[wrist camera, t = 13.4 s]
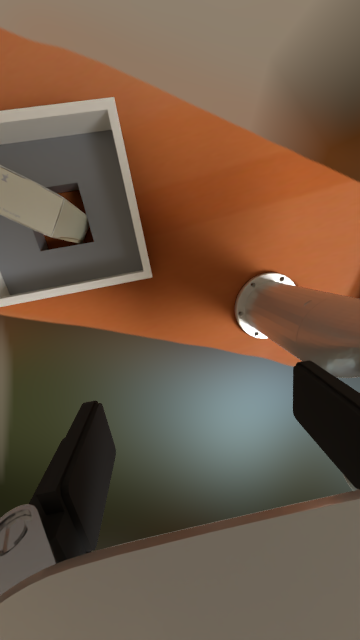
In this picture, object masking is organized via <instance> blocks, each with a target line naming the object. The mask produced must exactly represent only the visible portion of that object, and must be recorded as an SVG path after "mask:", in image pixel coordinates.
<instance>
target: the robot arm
mask: <svg viewBox="0 0 360 640" xmlns="http://www.w3.org/2000/svg"><path fill="white" fill-rule="evenodd" d="M251 284H252V285H251ZM239 312H240V313H239ZM235 316H236V320H237V322H238V324H239V326H240V327H241V328H242V330H243V331H245V332H246V333H247V334H249V335H250V336H253V337H255V338H261V339H264V338H269V339H271V340H272V341H274V342H275V343H276V344H278V345H279V346H281V347H282V348H284V349H285V350H287V351H288V352H290V353H291V354H293V355H294V356H296V357H297V358H298V359H300V360H301V361H303V362H298V363H297V364H296V366H294V369H293V413H294V416H295V418H296V419H297V421H298V422H299V423H300V424H301V425H302V427H303V428H304V429H305V430H306V431H307V432H308V433H309V435H310V436H311V437H312V438H313V439H314V441H315V442H316V443H317V444H318V445H319V446H320V447H321V449H322V450H323V451H324V452H325V453H326V454H327V456H328V457H329V458H330V459H331V460H332V462H334V464H335V465H336V466H337V467H338V468H339V469H340V471H341V472H342V473H343V475H344V477H345V479H346V481H347V483H348V484H349V486H350V487H351V489H352V490H353V491H351V492H346V493H342V494H337V495H333V496H328V497H324V498H319V499H315V500H310V501H306V502H301V503H296V504H292V505H288V506H283V507H279V508H274V509H270V510H266V511H261V512H257V513H252V514H248V515H244V516H239V517H235V518H230V519H226V520H222V521H217V522H213V523H209V524H205V525H200V526H196V527H192V528H187V529H183V530H179V531H175V532H170V533H166V534H162V535H158V536H153V537H149V538H145V539H141V540H136V541H132V542H129V543H125V544H121V545H117V546H113V547H109V548H105V549H101V550H97V551H94V552H91V551H92V550H95V548H96V545H97V542H98V537H99V532H100V527H101V522H102V517H103V513H104V508H105V504H106V498H107V493H108V489H109V484H110V480H111V475H112V470H113V465H114V461H115V455H116V450H115V445H114V442H113V438H112V435H111V432H110V429H109V426H108V422H107V419H106V416H105V412H104V409H103V406H102V404H101V403H98V402H97V401H91V402H86V403H83V404H82V406H81V408H80V410H79V412H78V414H77V415H76V417H75V419H74V421H73V423H72V425H71V428H70V429H69V431H68V433H67V435H66V437H65V438H64V439H63V440H62V441H61V443H60V445H59V447H58V449H57V451H56V453H55V455H54V457H53V459H52V460H51V462H50V464H49V466H48V468H47V470H46V472H45V474H44V476H43V478H42V480H41V482H40V484H39V486H38V487H37V489H36V491H35V493H34V495H33V497H32V499H31V501H30V503H29V504H27V505H21V506H19V507H16V508H14V509H12V510H11V511H9V512H8V513H6V514H5V515H4V516H2V517H1V518H0V640H360V393H358V392H357V391H355V390H354V389H352V388H351V387H350V386H348V385H347V384H345V383H344V382H342V381H340V380H339V379H338V378H336V377H339V378H352V377H360V299H358V298H353V297H348V296H343V295H338V294H333V293H328V292H323V291H318V290H313V289H308V288H303V287H298V286H296V285H295V284H294V282H293V281H292V280H291V279H290V278H288V277H287V276H285V275H282V274H279V273H263V274H260V275H258V276H255V277H254V278H252V279H251V280H249V281H248V282H247V283H246V284H245V285H244V286H243V288H242V289H241V290H240V292H239V294H238V296H237V299H236V302H235Z"/></svg>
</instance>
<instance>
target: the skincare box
mask: <svg viewBox="0 0 360 640" xmlns="http://www.w3.org/2000/svg"><path fill="white" fill-rule="evenodd" d="M0 215H2V216H4V217H6V218H8V219H10V220H13V221H15V222H17V223H19V224H21V225H24V226H26V227H28V228H30V229H33V230H35V231H37V232H39V233H42V234H44V235H47V236H49V237H52V238H57V239H61V240H65V241H70V242H74V243H79V244H83V241H84V239H85V236H86V234H87V231H88V228H89V222H88V219H87V215H86V214H85V213H83V212H82V211H81V210H79V209H78V208H77V207H75V206H74V205H73V204H72V203H70V202H69V201H68V200H66V199H65V198H64V197H62V196H60V195H58V194H57V193H55V192H53V191H51V190H49V189H47V188H45V187H44V186H42V185H40V184H38V183H36V182H34V181H32V180H30V179H28V178H26V177H24V176H22V175H20V174H18V173H16V172H14V171H12V170H10V169H7V168H5V167H3V166H2V165H0Z"/></svg>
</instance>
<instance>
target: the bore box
mask: <svg viewBox="0 0 360 640" xmlns="http://www.w3.org/2000/svg"><path fill="white" fill-rule="evenodd" d="M0 165H2V166H3V167H5V168H7V169H10V170H12V171H14V172H16V173H18V174H20V175H22V176H24V177H26V178H28V179H30V180H32V181H34V182H36V183H38V184H40V185H42V186H44V187H45V188H47V189H49V190H51V191H53V192H55V193H62V192H68V191H75V190H80V194H81V197H82V201H83V204H84V208H85V211H86V215H87V219H88V222H89V226H90V229H91V233H92V236H93V240H94V242H90V243H84V244H79V245H73V246H67V247H62V248H56V249H50V250H49V249H48V246H47V243H46V240H45V237H44V235H43V234H42V233H39V232H37V231H35V230H33V229H30V228H28V227H26V226H24V225H21V224H19V223H17V222H15V221H13V220H10V219H8V218H6V217H4V216H2V215H0V307H3V306H8V305H13V304H19V303H24V302H29V301H34V300H39V299H44V298H49V297H55V296H60V295H65V294H70V293H75V292H80V291H85V290H90V289H96V288H101V287H106V286H111V285H116V284H121V283H126V282H132V281H137V280H142V279H147V278H152V272H151V268H150V263H149V258H148V254H147V249H146V244H145V240H144V235H143V230H142V226H141V221H140V216H139V212H138V207H137V202H136V197H135V193H134V188H133V183H132V179H131V174H130V169H129V165H128V160H127V155H126V151H125V146H124V141H123V137H122V132H121V127H120V123H119V118H118V113H117V109H116V104H115V99H114V97H110V98H102V99H94V100H85V101H77V102H69V103H61V104H53V105H44V106H36V107H28V108H20V109H12V110H3V111H0Z"/></svg>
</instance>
